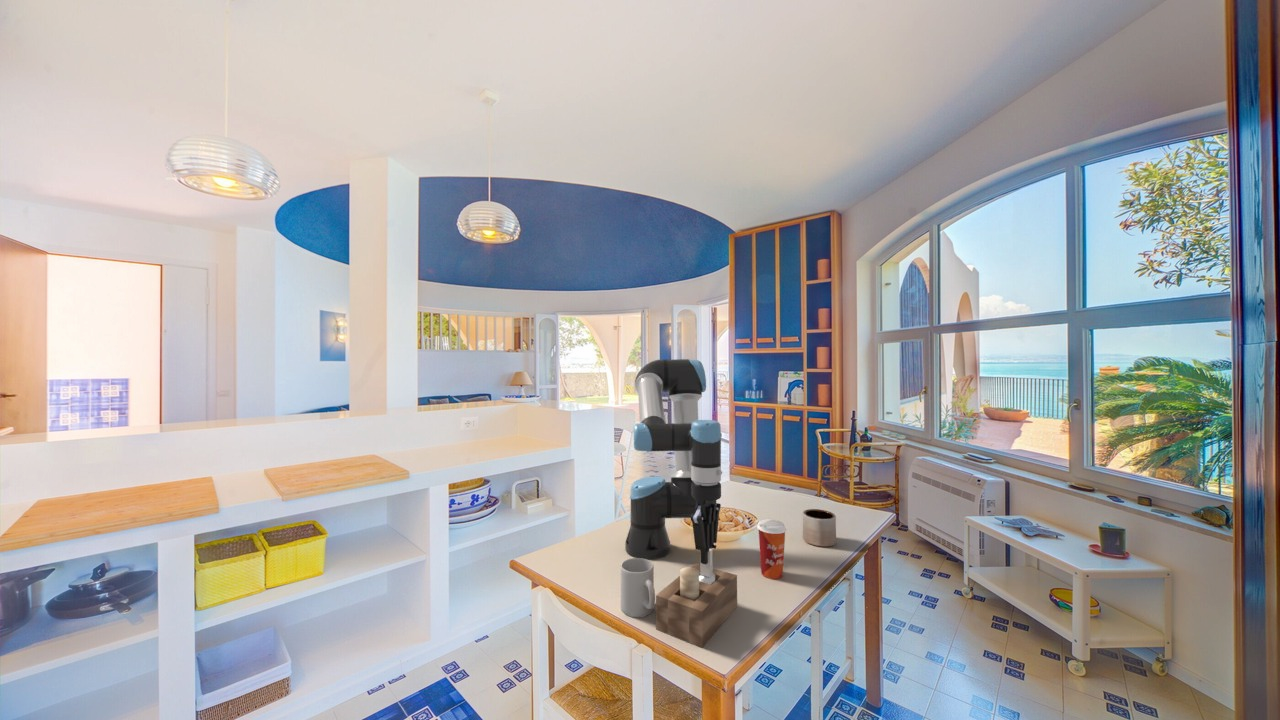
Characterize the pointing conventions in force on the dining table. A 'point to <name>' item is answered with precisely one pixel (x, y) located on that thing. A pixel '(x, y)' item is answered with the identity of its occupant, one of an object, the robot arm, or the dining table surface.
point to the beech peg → (689, 583)
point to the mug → (637, 587)
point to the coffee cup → (771, 547)
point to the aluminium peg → (707, 579)
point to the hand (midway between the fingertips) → (706, 574)
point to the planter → (819, 527)
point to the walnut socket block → (696, 608)
